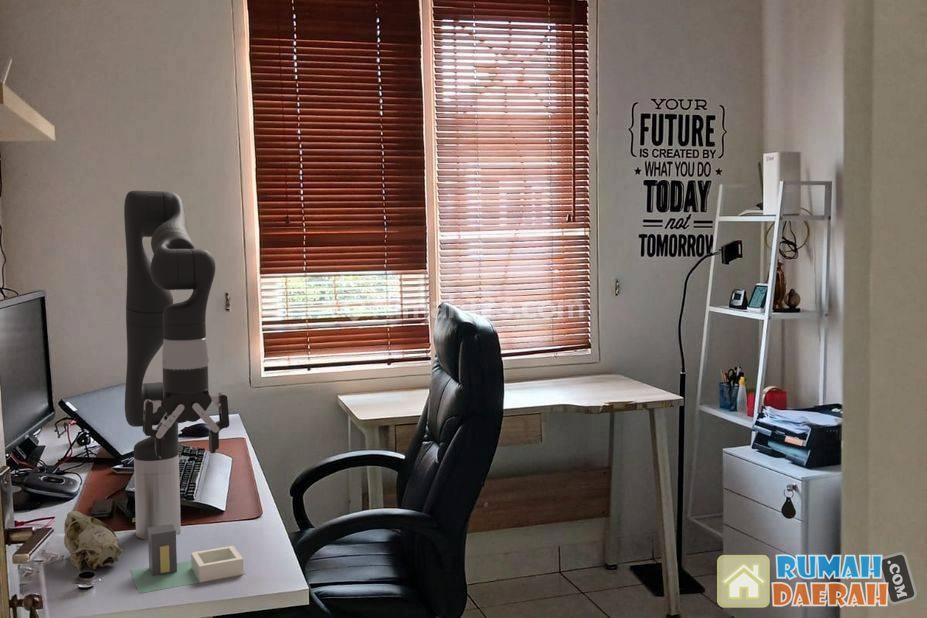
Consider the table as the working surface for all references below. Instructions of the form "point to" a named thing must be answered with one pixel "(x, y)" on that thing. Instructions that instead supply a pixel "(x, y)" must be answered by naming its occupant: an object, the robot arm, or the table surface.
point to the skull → (90, 541)
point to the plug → (162, 549)
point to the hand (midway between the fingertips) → (187, 455)
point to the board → (165, 578)
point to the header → (216, 563)
